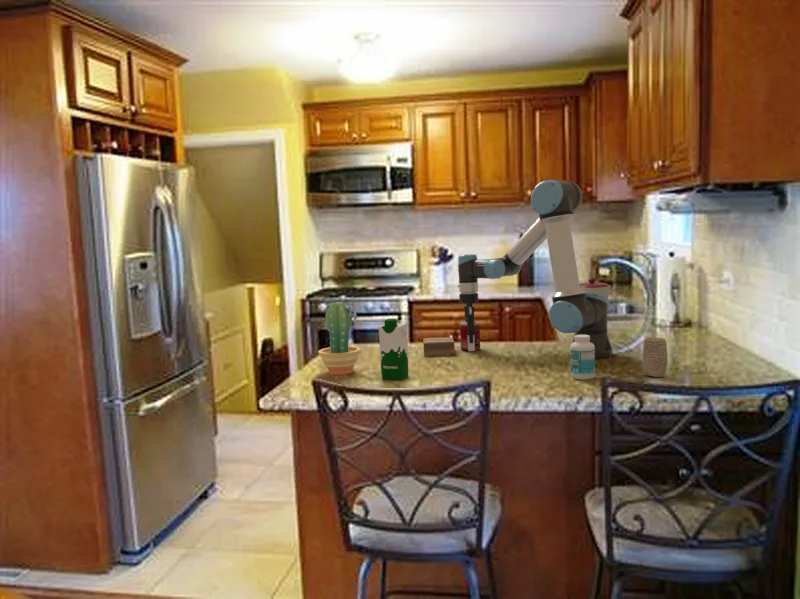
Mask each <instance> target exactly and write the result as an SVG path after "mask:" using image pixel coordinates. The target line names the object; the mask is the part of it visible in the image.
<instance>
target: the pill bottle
mask: <svg viewBox="0 0 800 599" xmlns="http://www.w3.org/2000/svg"><path fill="white" fill-rule="evenodd" d="M574 336H575V342H574V343H571V344H570V347H569V348H570V350H569V351H570V352H569V353H571V355H570V376H571V378H572V379H574V380H575V379H576V380H581V381H583V380H585V381H587V380H592V379H594V378H595V376H596V361H595V360H596V358H595V346H594V344H593V343H591V342H589V341H590V336H589V335H575V334H574Z"/></svg>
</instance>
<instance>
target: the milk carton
mask: <svg viewBox="0 0 800 599" xmlns="http://www.w3.org/2000/svg"><path fill="white" fill-rule="evenodd" d="M397 321H398V320H397V319H396V318H388V319H387V318H386V319H384V323H383V324H382V325H379V326H378V328H377V329H378V336H379V337H378V338H379V339H378V340H379V354H380V357H379V358H380V370H381V371H380V372H381V380H382V381H383V380H384V381H403V380H404V379H406V378H407V377H409V352H408V323H398V322H397Z"/></svg>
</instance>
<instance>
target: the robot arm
mask: <svg viewBox="0 0 800 599" xmlns="http://www.w3.org/2000/svg"><path fill="white" fill-rule="evenodd" d="M582 201H583V192H582V189H581V188H580V186H579V185H578V184H577V183H576V182H573V181H571V180H557V179H548V180H543V181H541V182H538V184H537V185H535V187H534V188H533V190H532V192H531V196H530V204H531V207H532V209H533V210H534V211H535V212H536V213H538V218H537V219H536V221H535V222H533V223H532V225H531V226H530V227H529V228H528V229H527V230H526V231H525V232H524V234H522V235H521V237H520V238H519V239H518V240H517V241H516V242H515V243H514V244H513V245H512V246H511V247H510V249H509V250H508V251H507V252H506V253H505V254H504V255H503V256H502V257H498V258H489V259H488V258H485V259H479V258H478V256H477V254H475V253H470V254H469V253H468V254H460V255H458V258H457V261H458V262H457V267H458V269H457V270H458V285H457V288H458V292H459V296H458V297H459V303H460V304H465V305H464V307H463V311H464V317H465V318H464V319H465V320H464V322H467V328H468V333H466V335H467V339H468V351H467V352H476V351H475V340H474V334H475V332H474V322H475V307H474V306H473V304H477V303H478V302H479V293H478V292H479V281H478V279H488V280H489V279H490V280H497V279H498V280H499V279H501V278H503V277H511V276H514V275H515V276H516V275H517V274H519V273H520V271H521V270H522V266H523V264H524V263H525V261H527V259H528V258H530V256H531V255H533V253H534V252H535V251H536V250H537V249H538V248H539V247H540V246H541V245H542V244H543V243H544V242H545V241H546V240H547V246H548V254H549V259H550V266H551V272H552V278H553V284H554V290H555V291H554V293H553V295H552V296H551V299H552V300H551V301H552V305H551V307H550V308H549V310H548V318H549V321H550V324H551V326H552V327H553V328H554V329H556V330H557V331H558V332H560V333H563V334H574V336H573V339H572V343H574V342H575V335H589V336H590V341H589V342H591V343H593V344H594V346H595V359H604V358H610V357H612V356H614V355H613V354H614V353H613V351H614V348H613V346H612V343H611V341H610V338H609V334H608V307H607V305H608V306H609V302H608V303H607V297H606V295H604V294H594V293H585V291H583V290H582V289H581V288H580V278H579V271H578V266H577V259H576V255H575V247H574V241H573V234H572V228H571V222H570V221H571V220H572V217H574V214H576V212H578V210H579V208H580V207H581V205H582ZM572 343H571V344H572ZM569 353H570V352H569ZM569 355H570V356H571V353H570V354H569Z"/></svg>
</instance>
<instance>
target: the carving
mask: <svg viewBox="0 0 800 599" xmlns="http://www.w3.org/2000/svg"><path fill="white" fill-rule="evenodd" d="M667 348H668V347H667V340H666V339H665V338H662V337H646V338H645V339H644V341H643V348H642V352H643V354H642V372H643V374H644V375H646V376H650V377H653V378H664V377H665V376H666V374H667V372H666V371H667V367H668V362H669V360H668V349H667Z"/></svg>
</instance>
